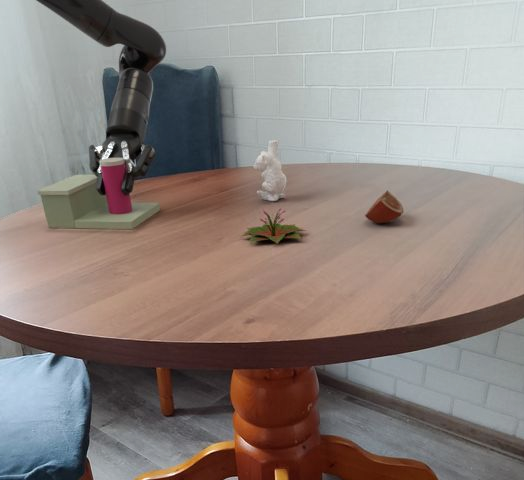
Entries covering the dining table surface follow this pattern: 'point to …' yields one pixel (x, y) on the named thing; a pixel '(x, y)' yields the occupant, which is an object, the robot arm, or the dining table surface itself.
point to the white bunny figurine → (271, 173)
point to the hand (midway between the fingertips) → (113, 192)
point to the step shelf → (88, 206)
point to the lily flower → (273, 230)
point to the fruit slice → (385, 209)
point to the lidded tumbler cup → (115, 185)
